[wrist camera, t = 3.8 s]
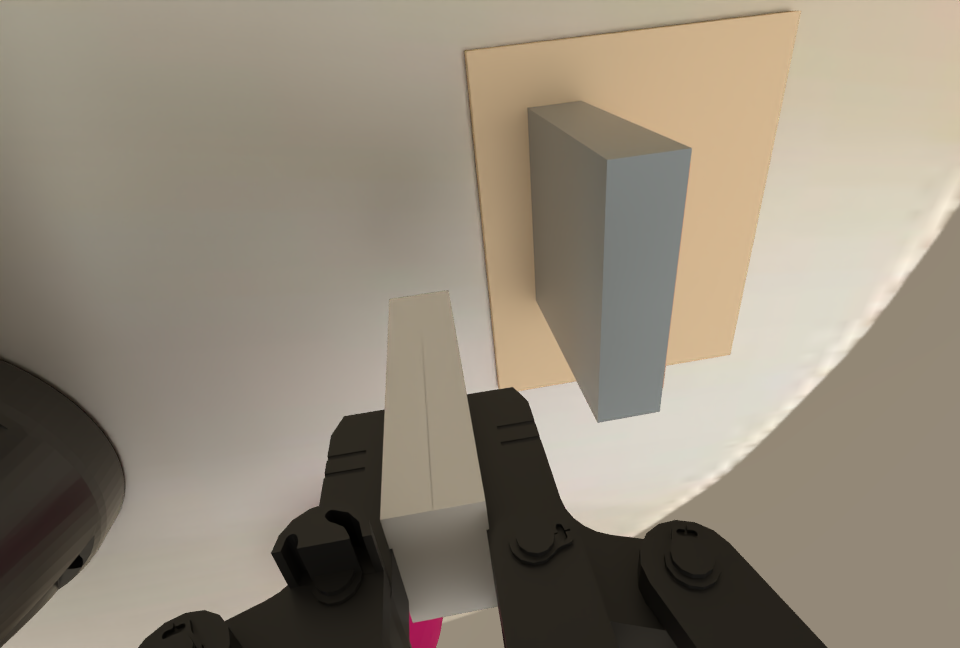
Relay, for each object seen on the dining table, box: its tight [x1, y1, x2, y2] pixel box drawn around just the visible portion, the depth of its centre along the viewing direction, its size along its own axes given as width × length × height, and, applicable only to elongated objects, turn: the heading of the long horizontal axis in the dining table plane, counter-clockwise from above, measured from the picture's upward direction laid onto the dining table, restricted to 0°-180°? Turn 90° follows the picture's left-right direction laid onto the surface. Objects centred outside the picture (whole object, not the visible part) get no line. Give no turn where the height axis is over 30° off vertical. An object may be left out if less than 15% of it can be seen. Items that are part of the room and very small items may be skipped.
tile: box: [527, 101, 692, 423], centre depth 17 cm, size 2×8×8 cm, turn 6°
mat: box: [464, 11, 801, 391], centre depth 21 cm, size 12×15×1 cm
